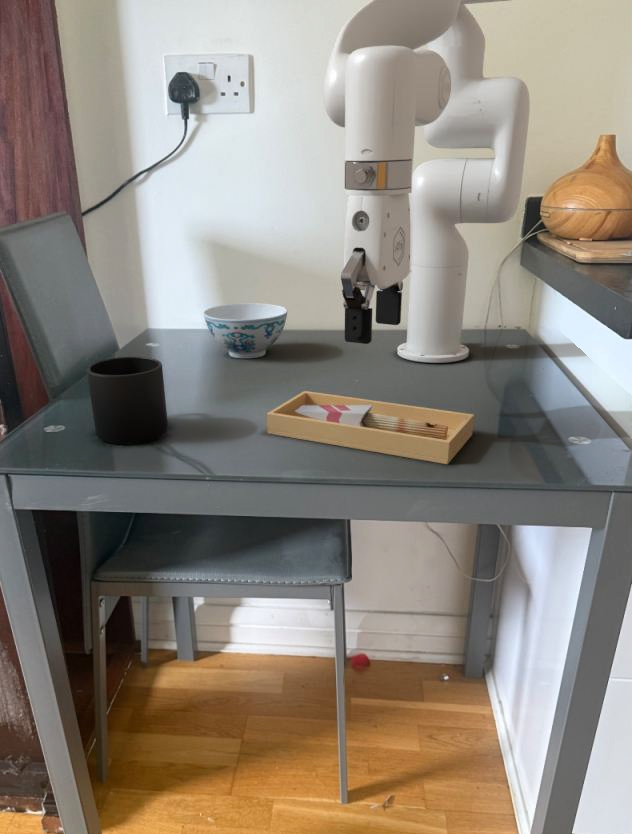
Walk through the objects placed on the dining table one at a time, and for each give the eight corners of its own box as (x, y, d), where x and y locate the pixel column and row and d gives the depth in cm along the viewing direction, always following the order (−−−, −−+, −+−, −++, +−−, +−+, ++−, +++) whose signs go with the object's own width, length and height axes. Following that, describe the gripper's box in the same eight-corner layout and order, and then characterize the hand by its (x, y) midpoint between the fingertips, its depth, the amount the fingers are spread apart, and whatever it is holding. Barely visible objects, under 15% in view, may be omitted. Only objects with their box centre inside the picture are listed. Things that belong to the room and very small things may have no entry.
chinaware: (303, 349, 133) (303, 307, 130) (257, 368, 122) (255, 323, 118) (238, 340, 140) (236, 300, 137) (189, 357, 129) (186, 314, 126)
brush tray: (304, 409, 102) (304, 390, 101) (472, 435, 92) (474, 414, 91) (267, 433, 94) (266, 413, 92) (447, 464, 83) (449, 442, 82)
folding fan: (304, 393, 96) (451, 417, 89) (303, 413, 98) (448, 438, 91) (292, 401, 93) (444, 427, 86) (292, 421, 94) (441, 448, 87)
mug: (181, 415, 101) (175, 351, 97) (156, 446, 90) (149, 376, 86) (116, 414, 102) (108, 351, 98) (85, 444, 91) (74, 375, 87)
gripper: (381, 184, 71) (375, 353, 79) (434, 174, 84) (425, 320, 92) (313, 184, 74) (315, 347, 82) (375, 174, 88) (371, 315, 96)
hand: (373, 332), depth 87 cm, fingers open, 9 cm apart
